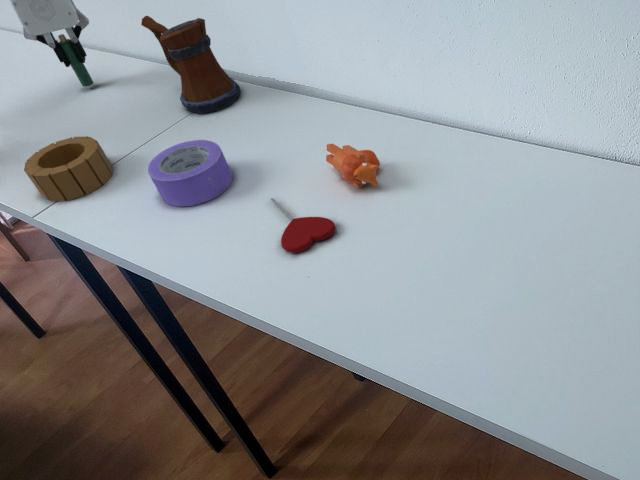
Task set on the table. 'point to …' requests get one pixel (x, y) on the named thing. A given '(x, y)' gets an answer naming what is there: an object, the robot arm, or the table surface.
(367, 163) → the orange toy bird
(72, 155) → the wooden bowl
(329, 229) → the lollipop
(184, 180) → the tape roll
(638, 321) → the table surface
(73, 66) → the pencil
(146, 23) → the mug
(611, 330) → the table surface
